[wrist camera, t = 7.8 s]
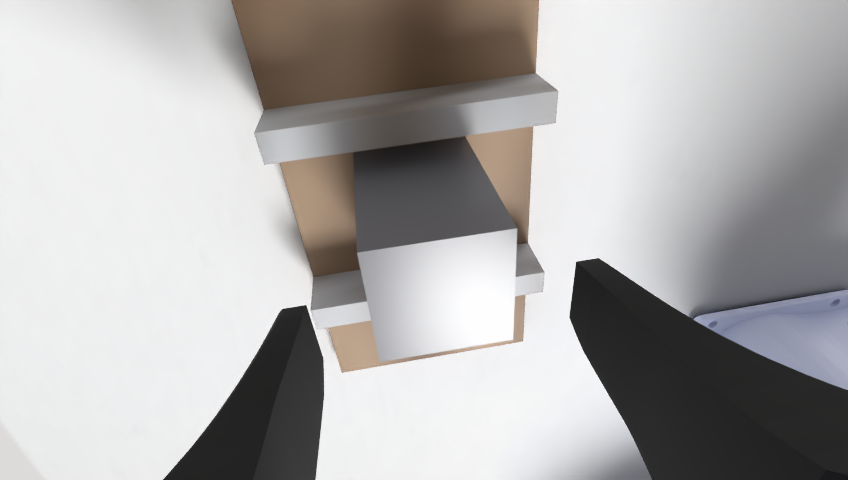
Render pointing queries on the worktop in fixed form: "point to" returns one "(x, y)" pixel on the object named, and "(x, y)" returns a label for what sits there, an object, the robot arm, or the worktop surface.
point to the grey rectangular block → (433, 249)
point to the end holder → (391, 122)
